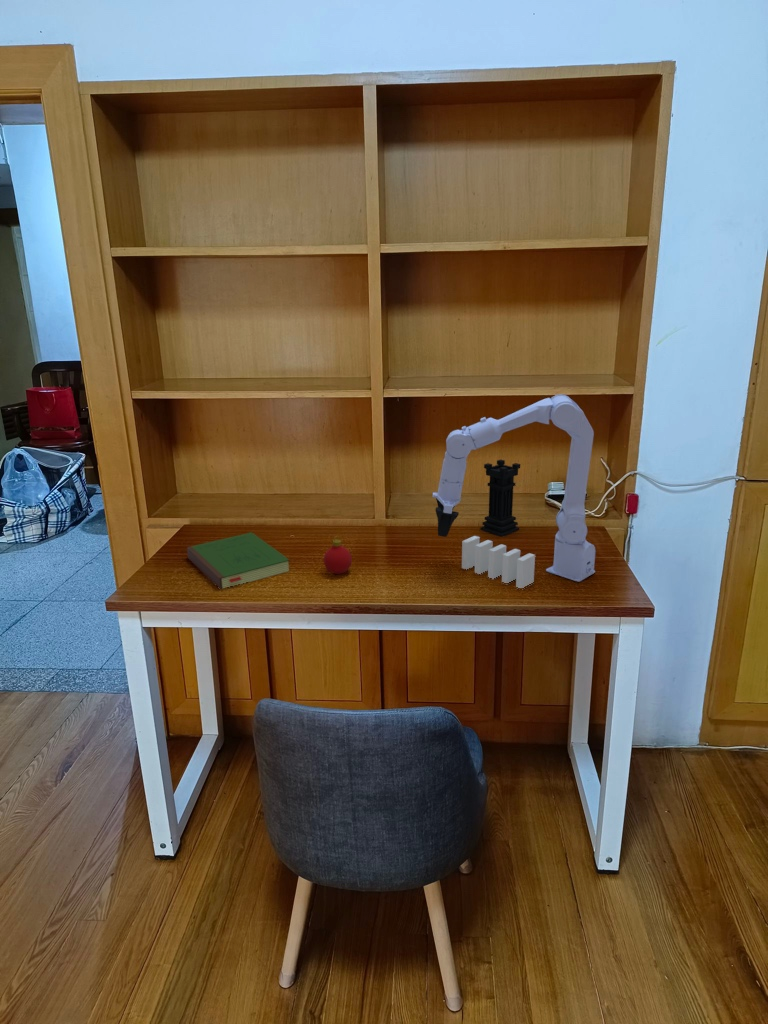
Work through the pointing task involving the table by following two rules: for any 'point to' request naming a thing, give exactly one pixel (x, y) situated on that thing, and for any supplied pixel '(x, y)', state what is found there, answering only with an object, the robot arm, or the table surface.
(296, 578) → the table surface
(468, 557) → the domino
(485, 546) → the domino
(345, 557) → the christmas ornament
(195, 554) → the hardcover book
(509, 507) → the chess piece
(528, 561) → the domino
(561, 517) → the robot arm
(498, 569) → the domino
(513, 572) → the domino
